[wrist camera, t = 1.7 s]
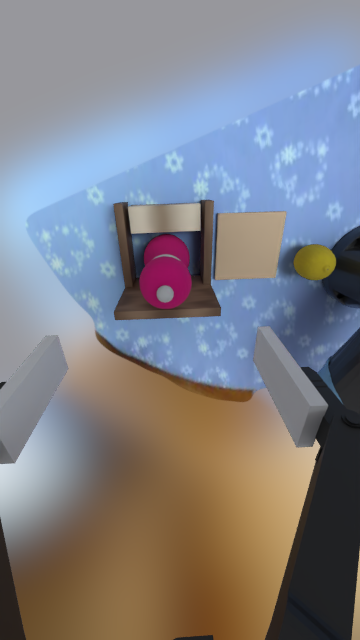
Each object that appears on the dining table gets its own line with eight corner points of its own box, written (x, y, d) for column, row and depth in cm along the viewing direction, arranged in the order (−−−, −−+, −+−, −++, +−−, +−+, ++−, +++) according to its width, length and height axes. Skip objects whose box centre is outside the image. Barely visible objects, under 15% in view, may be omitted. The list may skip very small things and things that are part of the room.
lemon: (282, 270, 44) (304, 285, 37) (291, 239, 41) (316, 249, 34) (311, 272, 44) (338, 287, 37) (321, 241, 42) (353, 251, 34)
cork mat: (284, 211, 39) (286, 211, 38) (273, 276, 44) (275, 277, 43) (217, 213, 39) (218, 213, 38) (214, 278, 44) (215, 279, 43)
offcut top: (198, 202, 36) (200, 203, 33) (198, 227, 37) (200, 230, 35) (130, 205, 35) (127, 206, 33) (134, 230, 37) (131, 233, 34)
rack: (208, 199, 38) (227, 203, 25) (206, 281, 44) (220, 315, 32) (120, 202, 37) (95, 207, 25) (130, 284, 44) (115, 320, 32)
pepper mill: (148, 273, 43) (133, 330, 25) (144, 231, 40) (123, 262, 22) (188, 271, 43) (200, 326, 26) (187, 229, 40) (201, 259, 22)
